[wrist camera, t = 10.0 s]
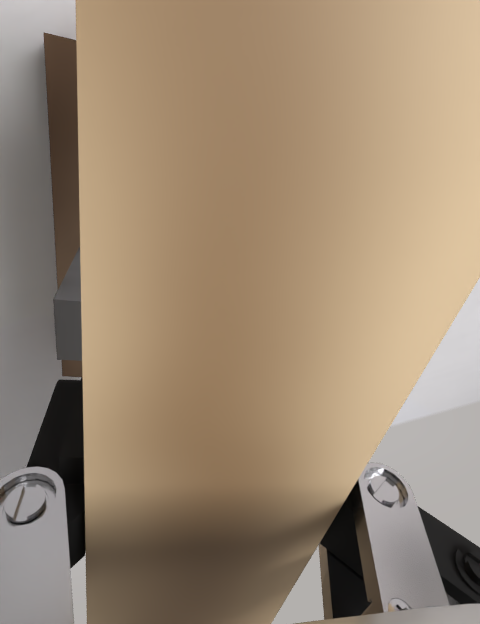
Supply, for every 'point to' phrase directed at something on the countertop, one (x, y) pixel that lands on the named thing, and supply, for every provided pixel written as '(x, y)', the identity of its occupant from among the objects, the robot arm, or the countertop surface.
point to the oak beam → (258, 276)
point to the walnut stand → (65, 197)
